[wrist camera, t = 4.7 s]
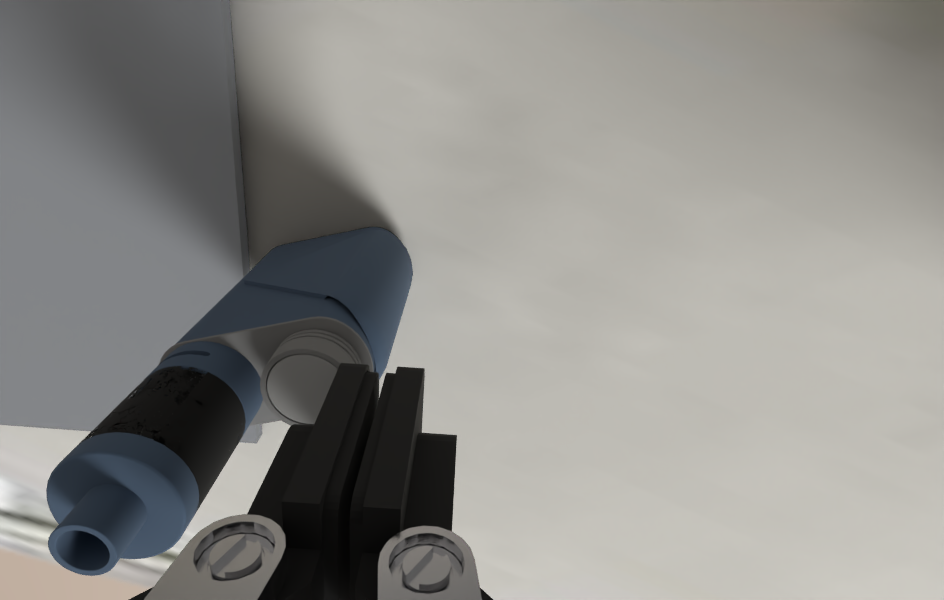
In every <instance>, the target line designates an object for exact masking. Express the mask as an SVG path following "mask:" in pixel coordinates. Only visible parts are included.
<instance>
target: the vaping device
mask: <svg viewBox="0 0 944 600" xmlns="http://www.w3.org/2000/svg"><path fill="white" fill-rule="evenodd" d="M412 275H413V271H412V263H411V259H410V256H409V254H408V251H407V249H406V248H405V246H404V245H403V244H402V242H401V241H400V240H399V239H398V238H397V237H396V236H395V235H394V234H392V233H391V232H389V231H387V230H385V229H383V228H379V227H368V228H363V229H358V230H353V231H349V232H344V233H339V234H334V235H329V236H324V237H319V238H314V239H309V240H304V241H299V242H294V243H289V244H284V245H280V246H277V247H275V248H274V249H272V250H271V251H270V252H269V253H268V254H267V255H266V256H265V257H264V258H263V259H262V260H261V261H260V262H259V263H258V264H257V265H256V266H255V267H254V268H253V269H252V270H251V271H250V272H249V273H248V274H246V275H245V276H244V277H243V278H242V279H241V280H240V281H239V282H238V283H237V284H236V285H235V286H234V287H233V288H232V289H231V290H230V291H229V292H228V293H227V294H226V295H225V296H224V297H223V298H222V299H221V300H220V301H219V302H218V303H217V304H216V305H215V306H214V307H213V308H212V309H211V310H210V311H209V312H208V313H207V314H206V315H205V316H204V317H203V318H202V319H200V320H199V321H198V322H197V323H196V324H195V325H194V326H193V327H192V328H191V329H190V330H189V331H188V332H187V333H186V334H185V335H184V336H183V337H182V338H181V339H180V340H179V341H178V342H177V343H176V344H175V345H173V346H172V347H170V348H169V349H168V350H167V351H166V352H165V353H164V355H163V356H162V358H161V360H160V362H159V365H158V366H157V367H156V368H155V369H154V370H153V371H152V372H151V373H150V374H149V375H148V376H147V377H146V378H145V379H144V381H142V382H141V383H140V384H139V385H138V387H136V388H135V389H134V390H133V391H132V392H131V393H130V394H129V395H128V396H127V397H126V398H125V399H124V400H123V401H122V402H121V403H120V404H119V405H118V406H117V407H116V408H115V409H114V410H113V411H112V412H111V413H110V414H109V415H108V416H107V417H106V418H105V419H104V420H103V421H102V422H101V423H100V424H99V425H98V426H97V427H96V428H97V429H96V428H95V429H94V430H93V431H92V432H91V433H93V434H91V433H90V434H89V435H88V436H89V437H88V436H87V437H86V438H84V439H83V440H82V441H81V442H80V443H79V444H78V446H77V447H75V448H74V449H73V450H72V451H71V452H70V453H69V454H68V455H67V456H66V457H65V458H64V459H63V460H62V461H61V462H60V463H59V464H58V465H57V467H56V468H55V469H54V470H53V472H52V473H51V476H50V478H49V480H48V484H47V490H46V491H47V501H48V505H49V508H50V511H51V512H52V514H53V516H54V518H55V520H56V521H57V522H58V524H59V525H58V526H57V528H56V529H55V530H54V531H53V532H52V533H51V535H50V537H49V540H48V547H49V550H50V553H51V554H52V556H53V557H54V559H55V560H56V561H57V562H58V563H59V564H60V565H62V566H63V567H64V568H66V569H68V570H70V571H73V572H75V573H78V574H82V575H90V576H94V575H101V574H104V573H106V572H108V571H110V570H111V569H112V568H113V567H114V566H115V565H116V563H117V562H118V560H119V559H120V558H123V559H141V558H148V557H152V556H156V555H158V554H161V553H163V552H165V551H167V550H168V549H170V548H171V547H173V546H174V545H175V544H176V543H177V542H178V541H179V539H180V538H181V536H182V534H183V533H184V531H185V530H186V528H187V526H188V525H189V523H190V521H191V520H192V518H193V517H194V515H195V513H196V511H197V510H198V508H199V507H200V505H201V503H202V502H203V500H204V499H205V497H206V495H207V494H208V492H209V490H210V489H211V487H212V485H213V484H214V482H215V481H216V479H217V477H218V476H219V474H220V472H221V471H222V469H223V468H224V466H225V464H226V463H227V461H228V459H229V458H230V456H231V454H232V453H233V451H234V450H235V448H236V446H237V445H238V443H239V441H240V440H241V438H242V436H243V435H244V433H245V432H246V430H247V428H248V427H249V426H251V425H257V424H263V423H269V422H275V421H280V420H282V421H283V422H285V423H287V424H289V425H291V426H292V425H293V424H298V425H313V426H314V424H315V422H316V419H317V417H318V415H319V412H320V410H321V407H322V405H323V403H324V400H325V398H326V396H327V393H328V391H329V389H330V386H331V384H332V382H333V379H334V377H335V375H336V372H337V370H338V368H339V365H340V364H341V363H352V364H367V365H369V369H370V372H378V373H379V379H380V378H381V376H382V374H383V372H384V370H385V368H386V366H387V363H388V359H389V356H390V353H391V349H392V346H393V343H394V339H395V336H396V333H397V329H398V326H399V323H400V319H401V316H402V313H403V309H404V306H405V303H406V299H407V296H408V293H409V289H410V286H411V281H412ZM136 390H137V391H136ZM135 392H136V393H135ZM131 395H133V396H131ZM127 398H128V399H127ZM111 414H112V415H111ZM127 415H128V416H127ZM107 418H108V419H107ZM91 436H92V437H91ZM90 437H91V438H90Z"/></svg>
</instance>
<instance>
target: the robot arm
mask: <svg viewBox="0 0 944 600" xmlns="http://www.w3.org/2000/svg"><path fill="white" fill-rule="evenodd" d="M423 394H424V368H409V367H397V370H396V374H394V373H386V376H385V379H384V383H383V386H382V390H381V394H380V397H379V373H378V372H370V369H369V365H367V364H352V363H341V364H340V365H339V368H338V370H337V372H336V375H335V377H334V379H333V382H332V384H331V386H330V389H329V391H328V393H327V396H326V398H325V400H324V403H323V405H322V407H321V410H320V412H319V415H318V417H317V419H316V422H315V424H314V426H313V425H298V424H293V425H292V426H291V427H290V428H289V430H288V432H287V434H286V436H285V438H284V440H283V442H282V444H281V446H280V448H279V450H278V452H277V454H276V456H275V458H274V460H273V462H272V464H271V466H270V469H269V471H268V473H267V475H266V477H265V479H264V481H263V483H262V485H261V487H260V489H259V491H258V493H257V495H256V497H255V499H254V501H253V503H252V505H251V507H250V510H249V512H248V514H243V515H236V516H230V517H227V518H224V519H221V520H218V521H216V522H213V523H212V524H210V525H209V526H207V527H205V528H204V529H202V530H200V531H199V532H198V533H197V534H196V535H195V536H194V537H193V538H192V539H191V540H190V541H189V543H188V544H187V545H186V546H185V548H184V549H183V550H182V551H181V553H180V554H179V555H178V557H177V558H176V559H175V560H174V562H173V563H172V564H171V565H170V567H169V568H168V569H167V571H166V572H165V573H164V574H163V576H162V577H161V578H160V579H159V581H158V582H157V583H156V585H155V586H154V587H153V588H151V589H149V590H147V591H145V592H143V593H141V594H139V595H137V596H135V597H133V598H131V599H129V600H493V599H492V598H491V597H490V596H489V595H487V594H486V593H485V592H484V591H483V590H482V589H481V588H480V586H479V580H478V575H477V569H476V564H475V559H474V556H473V553H472V551H471V548H470V547H469V546H468V544H467V543H466V542H465V541H464V540H463V539H462V538H461V537H460V536H458V535H456V534H455V533H453V532H452V516H453V497H454V478H455V459H456V440H457V435H446V434H431V433H422V414H423Z"/></svg>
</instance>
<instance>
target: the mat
mask: <svg viewBox="0 0 944 600" xmlns="http://www.w3.org/2000/svg"><path fill="white" fill-rule="evenodd" d="M249 272H250V265H249V252H248V239H247V226H246V212H245V199H244V186H243V172H242V159H241V146H240V132H239V119H238V106H237V92H236V79H235V66H234V53H233V39H232V26H231V13H230V0H0V425H11V426H25V427H38V428H52V429H66V430H80V431H93V430H94V429H95V428H96V427H97V426H98V425H99V424H100V423H101V422H102V421H103V420H104V419H105V418H106V417H107V416H108V415H109V414H110V413H111V412H112V411H113V410H114V409H115V408H116V407H117V406H118V405H119V404H120V403H121V402H122V401H123V400H124V399H125V398H126V397H127V396H128V395H129V394H130V393H131V392H132V391H133V390H134V389H135V388H136V387H138V385H139V384H140V383H141V382H142V381H144V379H145V378H146V377H147V376H148V375H149V374H150V373H151V372H152V371H153V370H154V369H155V368H156V367H157V366H158V365H159V362H160V360H161V358H162V356H163V355H164V353H165V352H166V351H167V350H168V349H169V348H170V347H172V346H173V345H175V344H176V343H177V342H178V341H179V340H180V339H181V338H182V337H183V336H184V335H185V334H186V333H187V332H188V331H189V330H190V329H191V328H192V327H193V326H194V325H195V324H196V323H197V322H198V321H199V320H200V319H202V318H203V317H204V316H205V315H206V314H207V313H208V312H209V311H210V310H211V309H212V308H213V307H214V306H215V305H216V304H217V303H218V302H219V301H220V300H221V299H222V298H223V297H224V296H225V295H226V294H227V293H228V292H229V291H230V290H231V289H232V288H233V287H234V286H235V285H236V284H237V283H238V282H239V281H240V280H241V279H242V278H243V277H244V276H245V275H246V274H248V273H249ZM136 391H137V390H136ZM135 393H136V392H135ZM131 396H133V395H131ZM127 399H128V398H127ZM111 415H112V414H111ZM127 416H128V415H127ZM107 419H108V418H107ZM96 429H97V428H96ZM261 435H262V425H261V424H257V425H251V426H249V427H248V428H247V430H246V432H245V433H244V435H243V436H242V438H241V440H240V441H239V442H245V443H257V442H258V440H259V438H260V437H261Z"/></svg>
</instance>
